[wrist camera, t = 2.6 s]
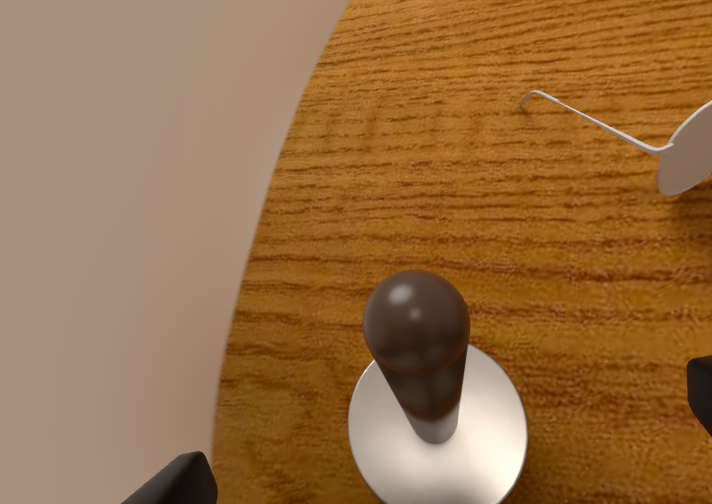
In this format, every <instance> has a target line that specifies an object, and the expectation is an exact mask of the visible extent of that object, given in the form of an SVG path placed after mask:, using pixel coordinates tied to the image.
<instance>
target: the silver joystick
mask: <svg viewBox="0 0 712 504" xmlns="http://www.w3.org/2000/svg"><path fill="white" fill-rule="evenodd" d="M362 325H363V333H364V338H365V341H366V344H367V346H368V348H369V350H370V352H371V354H372V356H373V357H374V360H373V361H372V362H371V363H370V364H369V366H368V367H367V368H366V369H365V371H364V372H363V374H362V375H361V377H360V379H359V380H358V382H357V384H356V386H355V389H354V392H353V394H352V397H351V402H350V406H349V412H348V437H349V444H350V448H351V452H352V456H353V459H354V461H355V464H356V466H357V469H358V470H359V472H360V474H361V476H362V478H363V480H364V481H365V482H366V484H367V485H368V487H369V488H370V489H371V491H372V492H373V493H374V494H375V495H376V496H377V497H378V498H379V499H380V500H381V501H382V502H383V503H385V504H501V503H502V502H503V500H504V499H505V498H506V497H507V496H508V495H509V494H510V492H511V491H512V490H513V488H514V487H515V485H516V483H517V481H518V479H519V477H520V475H521V473H522V470H523V467H524V465H525V461H526V456H527V451H528V439H529V434H528V422H527V417H526V412H525V409H524V406H523V403H522V400H521V397H520V395H519V393H518V391H517V389H516V387H515V385H514V384H513V382H512V380H511V379H510V377H509V376H508V375H507V373H506V372H505V371H504V370H503V368H502V367H501V366H500V365H499V364H498V363H497V362H496V361H495V360H494V359H492V358H491V357H490V356H489V355H487V354H486V353H485V352H483V351H482V350H480V349H478V348H476V347H475V346H473V345H471V344H468V342H469V335H470V317H469V312H468V309H467V305H466V303H465V301H464V299H463V297H462V295H461V294H460V293H459V292H458V290H457V289H456V288H455V287H454V286H453V285H452V284H451V283H450V282H449V281H447V280H446V279H444V278H443V277H441V276H439V275H437V274H435V273H432V272H429V271H423V270H408V271H402V272H399V273H396V274H394V275H391V276H390V277H388V278H386V279H385V280H383V281H382V282H381V283H380V284H379V285H378V286H376V288H375V289H374V290H373V292H372V293H371V294H370V296H369V298H368V300H367V303H366V305H365V309H364V312H363V321H362Z"/></svg>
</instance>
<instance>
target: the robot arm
mask: <svg viewBox="0 0 712 504" xmlns="http://www.w3.org/2000/svg"><path fill="white" fill-rule="evenodd" d="M687 390H688V402H689V405H690V408H691V410H692V412H693V413H694V415H695V416H696V417H697V419H698V420H699V421H700V423H701V424H702V425H703V426H704V428H705V429H706V430H707V432H708V433H709V434H710V436H711V437H712V355H710V356H705V357H699V358H694V359H691V360H690V361H689V362H688V364H687ZM217 495H218V491H217V485H216V482H215V479H214V476H213V474H212V471H211V469H210V466H209V464H208V461H207V459H206V457H205V455H204V454H203V453H202V452H200V451H197V452H191V453H186V454H182V455H179V456H178V457H177V458H175V459H174V460H173V461H172V462H171V463H169V464H168V465H167V466H166V467H165V468H164V469H162V470H161V471H160V472H159V473H157V474H156V475H155V476H154V477H153V478H151V479H150V480H149V481H148V482H146V483H145V484H144V485H143V486H142V487H141V488H139V489H138V490H137V491H136V492H135V493H133V494H132V495H131V496H130V497H128V498H127V499H126V500H125V501H124V502H122V503H121V504H216V502H217Z"/></svg>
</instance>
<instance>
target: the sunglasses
mask: <svg viewBox="0 0 712 504" xmlns="http://www.w3.org/2000/svg"><path fill="white" fill-rule="evenodd" d="M533 94H538V95H540V96H542V97H544V98H546V99H547V100H549V101H551V102H553V103H555V104H560V105H562V106H563V107H565V108H567V109H569V110H571V111H572V112H574V113H576V114H578V115H580V116H581V117H583V118H585V119H587V120H588V121H590V122H592V123H594V124H596V125H597V126H599V127H601V128H603V129H605V130H606V131H608V132H610V133H612V134H614V135H615V136H617V137H619V138H621V139H622V140H624V141H626V142H628V143H630V144H631V145H633V146H635V147H637V148H639V149H640V150H642V151H644V152H646V153H648V154H651V155H654V156H661V155H662V156H661V159H660V162H659V166H658V170H657V188H658V190H659V192H660V193H662V194H663V195H665V196H674V195H677V194H680V193H682V192H685V191H687V190H689V189H691V188H692V187H694V186H696V185H697V184H698V183H700V182H701V181H703V180H704V179H705V178H707V177H708V176H709V175H710V174H711V173H712V100H711V101H710V102H708V103H707V104H705V105H704V106H702V107H701V108H699V109H698V110H697V111H696V112H695V113H693V114H692V115H691V116H690V117H689V118H688V119H687V120H686V121H685V122H684V123H683V124H682V125H681V126H680V127H679V128H678V129H677V130H676V132H675V133H674V134H673V136H672V137H671V138H670V140H669V141H668V143H667V145H666V146H664V147H660V148H655V147H652V146H649V145H647V144H644V143H642V142H640V141H638V140H636V139H634V138H632V137H630V136H628V135H626V134H624V133H622V132H620V131H618V130H616V129H614V128H612V127H610V126H608V125H605V124H603V123H601V122H599V121H597V120H595V119H593V118H591V117H589V116H587V115H585V114H583V113H581V112H579V111H577V110H575V109H573V108H571V107H569V106H566V105H564V104H562V103H560V101H559V100H557V99H555V98H553V97H551V96H549V95H547V94H545V93H543V92H541V91H538V90H534V91H531V92H530V93H529V94H528V95H526V96H525V97H524V98H523V100H522V101H520V102H519V104H520V105H521V106H523V105H524V104H525V103H526V101H527V100H528V99H529V98H530V97H531V95H533Z"/></svg>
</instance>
